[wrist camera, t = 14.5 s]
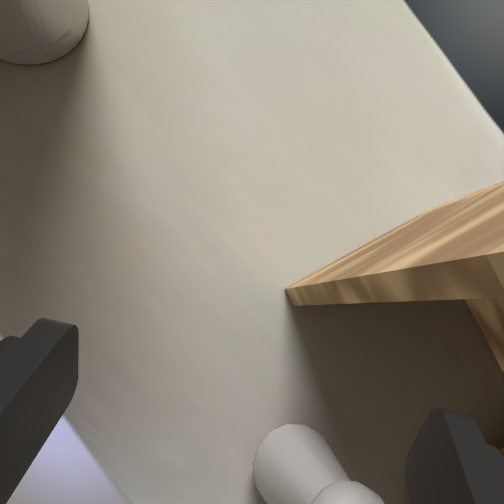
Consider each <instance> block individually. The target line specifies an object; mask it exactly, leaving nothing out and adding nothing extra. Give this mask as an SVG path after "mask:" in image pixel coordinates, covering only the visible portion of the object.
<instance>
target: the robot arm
mask: <svg viewBox="0 0 504 504" xmlns="http://www.w3.org/2000/svg"><path fill="white" fill-rule="evenodd" d="M88 18H89V11H88V2H87V0H0V59H1V60H4V61H7V62H10V63H16V64H23V65H32V64H42V63H46V62H50V61H53V60H55V59H58V58H60V57H62V56H64V55H65V54H67V53H68V52H69V51H71V50H72V49H73V48H74V47H75V46H76V45H77V44H78V42H79V41H80V40H81V39H82V37H83V35H84V32H85V30H86V28H87V23H88ZM77 381H78V328H77V326H76V325H72V324H68V323H63V322H59V321H54V320H50V319H45V318H41V319H39V320H37V321H36V322H35V323H34V324H33V326H32V327H31V328H30V329H29V330H28V331H27V332H26V333H25V334H24V335H23V336H22V337H21V338H18V337H14V336H8V337H6V338H4V339H3V340H1V341H0V504H6V503H7V501H8V500H9V498H10V497H11V495H12V493H13V492H14V490H15V489H16V487H17V486H18V484H19V482H20V481H21V479H22V478H23V476H24V475H25V473H26V471H27V470H28V468H29V467H30V465H31V463H32V462H33V460H34V459H35V457H36V456H37V454H38V452H39V451H40V449H41V448H42V446H43V445H44V443H45V441H46V440H47V438H48V437H49V435H50V434H51V432H52V430H53V429H54V427H55V426H56V424H57V422H58V421H59V419H60V418H61V416H62V415H63V413H64V411H65V410H66V408H67V407H68V405H69V403H70V401H71V400H72V397H73V395H74V392H75V389H76V386H77ZM406 483H407V488H408V493H409V497H410V502H411V504H504V456H503V455H502V454H501V453H500V451H499V450H498V449H497V448H496V447H495V446H491V445H487V444H486V442H485V439H484V437H483V435H482V432H481V430H480V428H479V425H478V423H477V421H476V420H475V418H474V417H473V416H471V415H467V414H463V413H458V412H454V411H449V410H445V409H440V408H434V409H433V410H432V411H431V412H430V414H429V416H428V418H427V420H426V421H425V423H424V425H423V427H422V429H421V431H420V433H419V435H418V437H417V438H416V440H415V442H414V444H413V446H412V448H411V450H410V452H409V454H408V457H407V462H406Z"/></svg>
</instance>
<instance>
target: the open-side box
mask: <svg viewBox="0 0 504 504" xmlns="http://www.w3.org/2000/svg"><path fill="white" fill-rule="evenodd" d="M285 291H286V293H287V295H288V297H289V299H290V300H291V302H292V304H293V306H303V305H328V304H354V303H379V302H404V301H429V300H455V299H465V301H466V303H467V305H468V307H469V308H470V310H471V312H472V314H473V316H474V318H475V320H476V322H477V324H478V326H479V327H480V329H481V331H482V333H483V335H484V337H485V339H486V341H487V343H488V345H489V347H490V348H491V350H492V352H493V354H494V356H495V358H496V360H497V362H498V364H499V366H500V367H501V369H502V371H503V373H504V181H503V182H501V183H498V184H495V185H493V186H490V187H487V188H485V189H482V190H479V191H477V192H474V193H471V194H468V195H466V196H463V197H460V198H458V199H455V200H452V201H450V202H447V203H444V204H442V205H439V206H436V207H433V208H432V209H430V210H428V211H426V212H424V213H422V214H421V215H419V216H417V217H415V218H413V219H411V220H410V221H408V222H406V223H404V224H402V225H401V226H399V227H397V228H395V229H393V230H391V231H390V232H388V233H386V234H384V235H382V236H380V237H379V238H377V239H375V240H373V241H371V242H370V243H368V244H366V245H364V246H362V247H360V248H359V249H357V250H355V251H353V252H351V253H349V254H348V255H346V256H344V257H342V258H340V259H338V260H337V261H335V262H333V263H331V264H329V265H328V266H326V267H324V268H322V269H320V270H318V271H317V272H315V273H313V274H311V275H309V276H307V277H306V278H304V279H302V280H300V281H298V282H296V283H295V284H293V285H291V286H289V287H287V288H286V289H285ZM499 451H500V453H501V454H502V455H503V456H504V446H503V447H502V448H501V449H499Z"/></svg>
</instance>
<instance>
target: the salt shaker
mask: <svg viewBox="0 0 504 504" xmlns="http://www.w3.org/2000/svg"><path fill="white" fill-rule="evenodd" d="M253 469H254V478H255V485H256V488H257V489H258V491H259V492H260V494H261V495H262V497H263V498H264V500H265V501H266V502H267V503H268V504H385V503H384V502H383V500H382V499H381V498H380V496H379V495H378V494H377V493H375V492H374V491H373V490H371V489H369V488H368V487H366V486H364V485H362V484H361V483H359V482H357V481H350V479H349V477H348V476H347V474H346V473H345V471H344V470H343V468H342V466H341V465H340V463H339V462H338V460H337V459H336V457H335V456H334V454H333V452H332V451H331V449H330V448H329V446H328V445H327V443H326V441H325V440H324V438H323V437H322V435H321V434H319V433H318V432H316V431H314V430H313V429H311V428H309V427H308V426H306V425H301V424H285V425H283V426H281V427H278V428H276V429H274V430H272V431H270V432H269V433H268V435H267V436H266V437H265V438H264V439H263V440H262V442H261V443H260V444H259V445H258V448H257V452H256V455H255V458H254V462H253Z"/></svg>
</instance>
